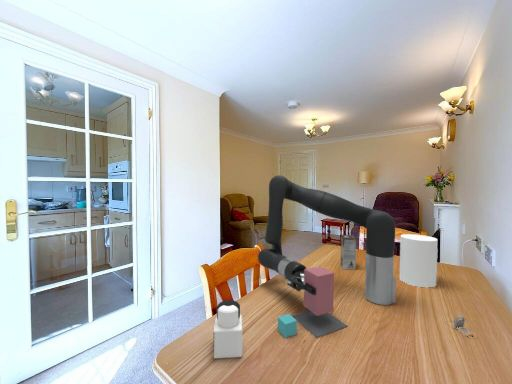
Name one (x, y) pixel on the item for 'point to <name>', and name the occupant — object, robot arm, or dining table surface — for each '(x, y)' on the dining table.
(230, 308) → the medicine bottle
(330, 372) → the dining table surface
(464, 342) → the dining table surface
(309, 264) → the dining table surface
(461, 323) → the strap clip
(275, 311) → the dining table surface
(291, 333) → the block
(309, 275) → the tall pink pillar
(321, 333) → the mat
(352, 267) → the coffee box
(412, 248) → the canister
